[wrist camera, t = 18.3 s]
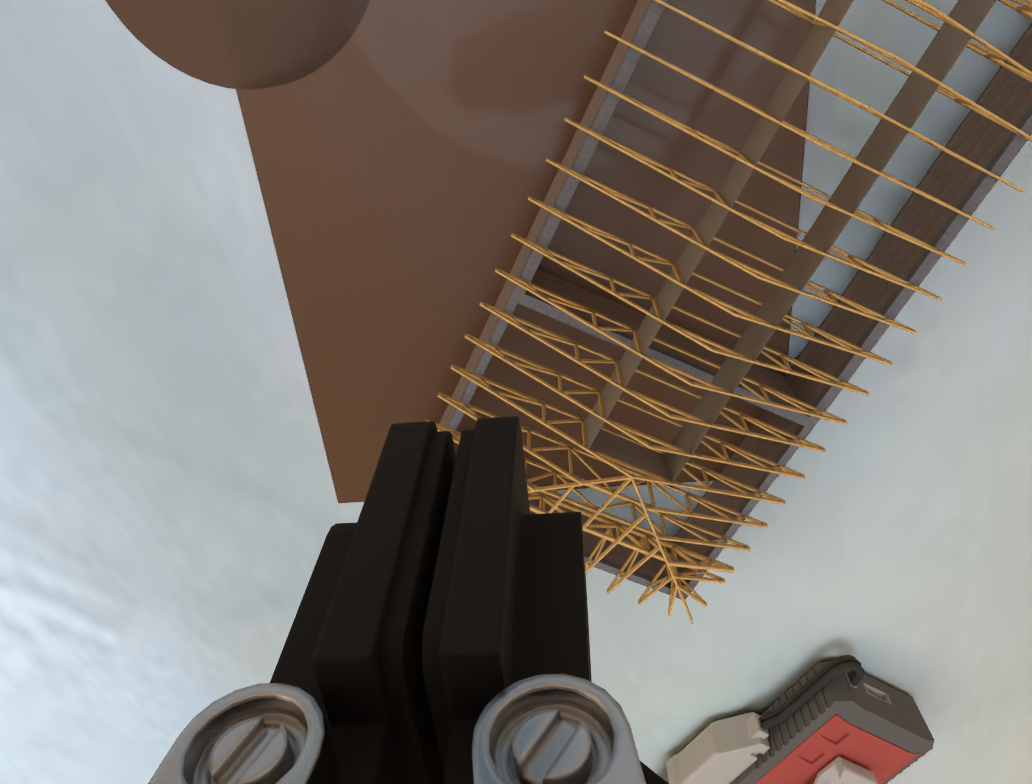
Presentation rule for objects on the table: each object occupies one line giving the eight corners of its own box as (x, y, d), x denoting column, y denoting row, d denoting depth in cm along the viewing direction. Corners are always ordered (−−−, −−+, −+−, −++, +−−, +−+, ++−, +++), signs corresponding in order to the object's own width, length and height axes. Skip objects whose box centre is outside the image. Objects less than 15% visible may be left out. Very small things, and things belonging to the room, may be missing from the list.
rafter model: (680, 570, 38) (703, 671, 32) (398, 463, 35) (372, 553, 30) (1306, -296, 22) (1554, -380, 17) (879, -599, 20) (1008, -813, 14)
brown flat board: (841, -357, 22) (843, -359, 22) (777, 474, 35) (778, 476, 35) (22, -249, 24) (18, -251, 23) (255, 505, 37) (254, 508, 37)
